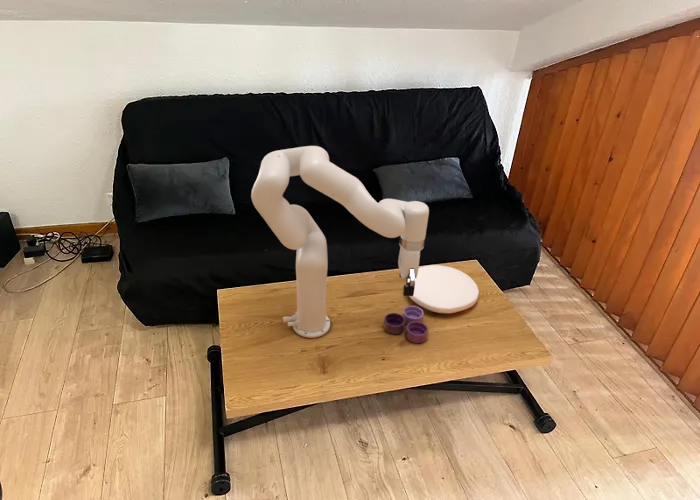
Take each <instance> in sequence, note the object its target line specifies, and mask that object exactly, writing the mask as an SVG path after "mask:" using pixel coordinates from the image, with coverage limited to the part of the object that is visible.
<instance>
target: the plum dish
mask: <svg viewBox="0 0 700 500" xmlns="http://www.w3.org/2000/svg"><path fill="white" fill-rule="evenodd" d="M428 332H429V327H428V326H427V324H425V323H424V322H423V321H422V322H418V321H413V322H410V323H409V324H408V325H407V324H406V330H405V337H406V339H407V340H408V341H410V342H411V343H414V344H422V343H424V342H426V340H427V339H428Z"/></svg>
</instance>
